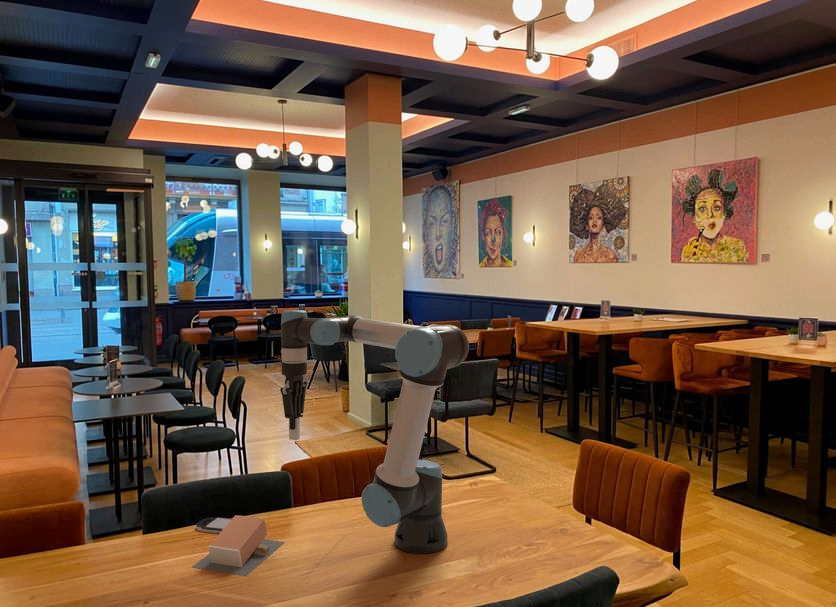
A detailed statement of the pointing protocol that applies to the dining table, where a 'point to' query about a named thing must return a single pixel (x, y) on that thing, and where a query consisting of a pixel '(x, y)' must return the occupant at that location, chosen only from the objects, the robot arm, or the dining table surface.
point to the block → (237, 541)
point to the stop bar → (261, 550)
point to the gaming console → (213, 524)
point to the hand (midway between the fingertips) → (294, 439)
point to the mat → (246, 568)
